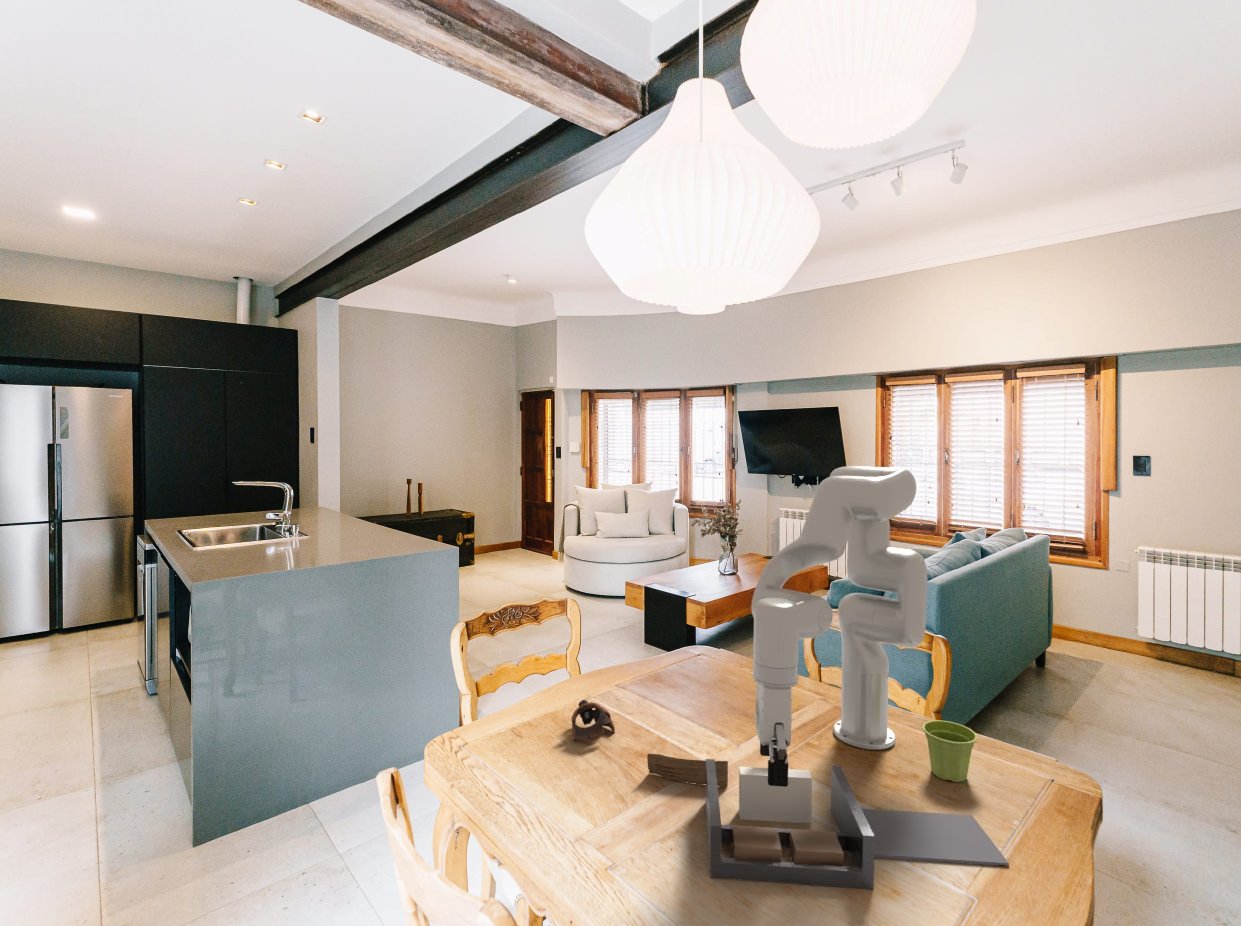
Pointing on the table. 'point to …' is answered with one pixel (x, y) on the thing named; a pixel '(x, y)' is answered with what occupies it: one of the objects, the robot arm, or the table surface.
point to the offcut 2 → (815, 847)
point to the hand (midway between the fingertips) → (773, 769)
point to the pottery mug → (588, 715)
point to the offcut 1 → (756, 843)
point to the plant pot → (949, 749)
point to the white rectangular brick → (775, 796)
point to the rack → (851, 837)
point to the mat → (931, 837)
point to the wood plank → (686, 769)
